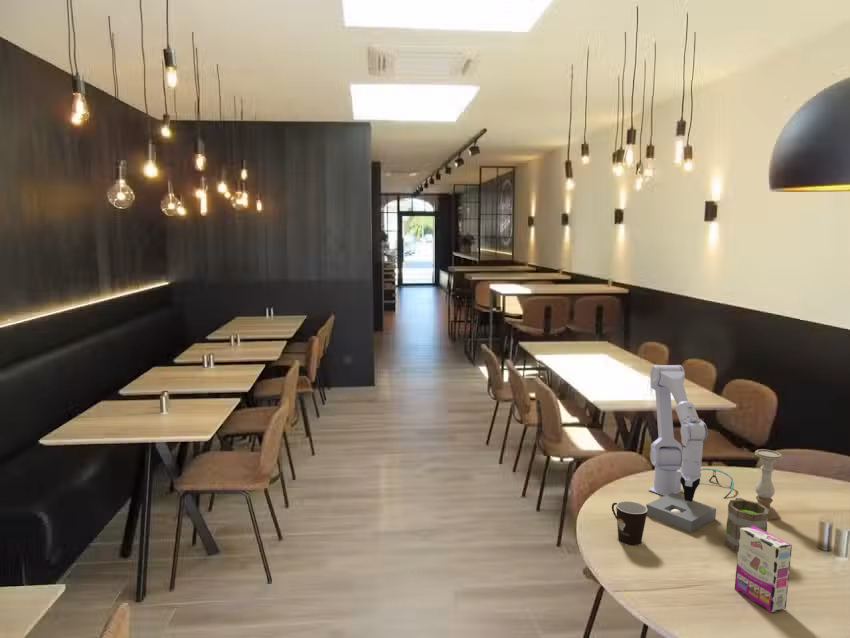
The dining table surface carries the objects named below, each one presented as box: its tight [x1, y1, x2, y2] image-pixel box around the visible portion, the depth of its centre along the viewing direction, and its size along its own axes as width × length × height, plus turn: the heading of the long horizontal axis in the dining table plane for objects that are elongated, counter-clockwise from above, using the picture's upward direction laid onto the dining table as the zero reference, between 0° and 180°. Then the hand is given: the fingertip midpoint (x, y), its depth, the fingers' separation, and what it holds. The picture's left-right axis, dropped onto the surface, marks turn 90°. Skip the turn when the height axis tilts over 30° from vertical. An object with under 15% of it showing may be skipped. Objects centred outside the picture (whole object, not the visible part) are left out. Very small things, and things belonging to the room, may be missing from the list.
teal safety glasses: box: [700, 468, 735, 500], centre depth 223 cm, size 14×15×5 cm
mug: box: [724, 497, 769, 554], centre depth 182 cm, size 16×11×12 cm
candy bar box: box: [734, 526, 793, 613], centre depth 154 cm, size 11×5×16 cm, turn 21°
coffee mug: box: [611, 500, 648, 546], centre depth 185 cm, size 12×9×10 cm
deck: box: [645, 493, 717, 533], centre depth 199 cm, size 15×15×4 cm
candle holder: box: [754, 448, 783, 521], centre depth 201 cm, size 9×9×20 cm
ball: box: [671, 509, 681, 514], centre depth 197 cm, size 4×4×4 cm
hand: (688, 500), depth 202 cm, fingers closed
